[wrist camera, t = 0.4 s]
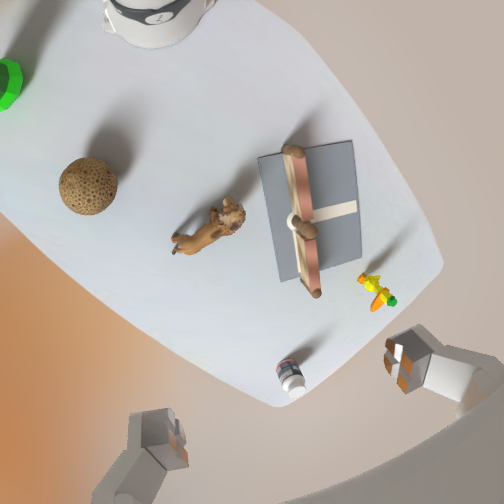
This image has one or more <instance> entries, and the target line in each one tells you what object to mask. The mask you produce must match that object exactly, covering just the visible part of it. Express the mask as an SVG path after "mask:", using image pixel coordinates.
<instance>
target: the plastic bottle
mask: <svg viewBox="0 0 504 504" xmlns="http://www.w3.org/2000/svg"><path fill="white" fill-rule="evenodd" d="M23 79H24V78H23V75H22V71H21V68H20V65H19V63H17V62H14V61H12V60H10V59H7V58H3V59H0V112H1V111H3V110H6V109H8V108H9V107H10V106H11V105H12V103H13V102H14V101H15V100H16V98H17V97H18V96H19V95H20V91H21V87H22V83H23Z"/></svg>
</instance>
